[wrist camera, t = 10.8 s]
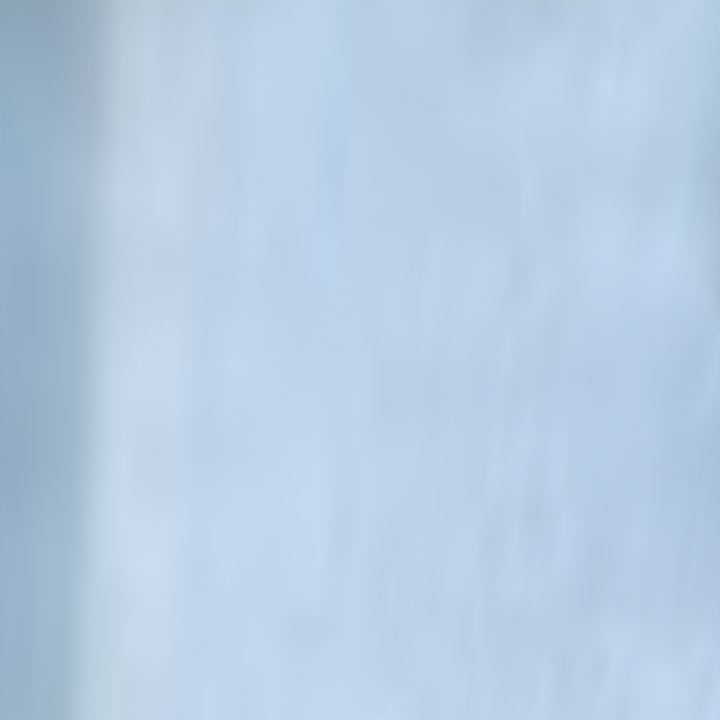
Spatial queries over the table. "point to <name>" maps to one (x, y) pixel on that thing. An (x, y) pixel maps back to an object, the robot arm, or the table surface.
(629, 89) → the table surface
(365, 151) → the table surface
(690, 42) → the table surface
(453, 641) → the table surface
